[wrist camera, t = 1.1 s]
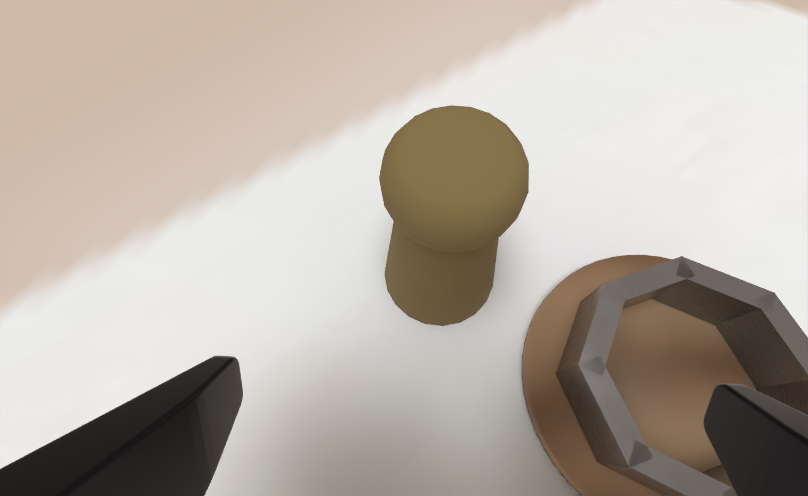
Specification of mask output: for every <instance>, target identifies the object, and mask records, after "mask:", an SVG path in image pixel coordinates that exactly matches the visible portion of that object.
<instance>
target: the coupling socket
mask: <svg viewBox="0 0 808 496" xmlns="http://www.w3.org/2000/svg"><path fill="white" fill-rule="evenodd" d="M522 380H523V389H524V396H525V400H526V404H527V408H528V412H529V415H530V418H531V420H532V423H533V426H534V429H535V431H536V433H537V435H538V437H539V439H540V441H541V443H542V445H543V447H544V449H545V451H546V452H547V454H548V455H549V457H550V458H551V460H552V461H553V463H554V465H555V466H556V467H557V469H558V470H559V471H560V472H561V473H562V475H563V476H564V477H565V478H566V480H567V481H568V482H569V483H570V484H571V485H572V486H573V487H574V488H575V489H576V490H577V491H578V492H579V493H580V494H581V495H582V496H737V495H736V493H735V491H734V489H733V487H732V485H731V483H730V481H729V479H728V477H727V475H726V473H725V471H724V469H723V467H722V465H721V463H720V461H719V459H718V457H717V455H716V453H715V451H714V449H713V447H712V445H711V443H710V441H709V438H708V436H707V434H706V432H705V429H704V424H703V420H704V415H705V412H706V409H707V407H708V404H709V401H710V398H711V395H712V392H713V390H714V388H715V387H716V386H717V385H718V384H721V383H727V384H742V385H746V386H748V387H750V388H752V389H754V390H756V391H758V392H760V393H763V394H765V395H767V396H769V397H771V398H773V399H775V400H777V401H779V402H781V403H783V404H785V405H787V406H789V407H791V408H793V409H795V410H797V411H800V412H802V413H804V414H806V415H808V338H807V336H806V335H805V333H804V332H803V331H802V329H801V328H800V327H799V325H798V324H797V323H796V321H795V320H794V319H793V317H792V316H791V315H790V313H789V312H788V310H787V309H786V308H785V306H784V305H783V304H782V302H781V301H780V300H779V298H778V297H777V296H776V294H775V293H774V292H771V291H769V290H766V289H763V288H761V287H758V286H756V285H753V284H751V283H748V282H746V281H743V280H740V279H738V278H735V277H733V276H730V275H728V274H725V273H723V272H720V271H717V270H715V269H712V268H710V267H707V266H705V265H702V264H700V263H697V262H694V261H692V260H689V259H687V258H684V257H683V256H681V257H679V258H676V259H673V260H672V259H667V258H663V257H656V256H648V255H625V256H617V257H611V258H607V259H603V260H599V261H596V262H594V263H591V264H589V265H587V266H584V267H582V268H581V269H579V270H577V271H576V272H574V273H572V274H571V275H569V276H568V277H567V278H566V279H564V280H563V281H562V282H561V283H560V284H559V285H558V286H557V287H556V288H555V289H554V290H553V291H552V292H551V293H550V294H549V295H548V296H547V298H546V299H545V300H544V301H543V302H542V304H541V306H540V307H539V309H538V310H537V312H536V313H535V315H534V317H533V320H532V322H531V324H530V326H529V329H528V332H527V336H526V339H525V343H524V350H523V356H522Z"/></svg>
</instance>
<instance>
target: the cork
mask: <svg viewBox="0 0 808 496" xmlns="http://www.w3.org/2000/svg"><path fill="white" fill-rule="evenodd" d="M528 178H529V163H528V160H527V157H526V155H525V152H524V150H523V147H522V144H521V143H520V141H519V140H518V138H517V137H516V136H515V135H514V133H513V132H512V131H511V130H510V129H509V127H508V126H507V125H506V124H505V123H503V122H502V121H500V120H499V119H497V118H496V117H494V116H493V115H491V114H490V113H487V112H484V111H481V110H478V109H475V108H472V107H463V106H446V107H439V108H433V109H430V110H428V111H426V112H424V113H421V114H419V115H417V116H415V117H414V118H412V119H411V120H410V121H409V122H408V123H407V124H405V125H404V126H403V127H402V128H401V129H400V130H399V131H397V132H396V133H395V135H394V136H393V138H392V140H391V141H390V143H389V145H388V146H387V148H386V150H385V153H384V156H383V160H382V166H381V171H380V177H379V179H380V185H381V191H382V196H383V201H384V206H385V208H386V209H387V211H388V213H389V214H390V216H391V217H392V219H393V221H394V224H393V229H392V235H391V240H390V246H389V251H388V257H387V263H386V269H385V278H386V284H387V289H388V292H389V293H390V295H391V297H392V299H393V301H394V302H395V304H396V305H397V306H398V307H399V308H400V309H401V310H402V311H403V312H404V313H406V314H407V315H408V316H409V317H411V318H414V319H416V320H418V321H420V322H422V323H425V324H432V325H441V326H444V325H449V324H454V323H459V322H461V321H463V320H465V319H467V318H469V317H470V316H472V315H474V314H475V313H476V312H477V311H478V310H479V309H480V308H481V307H482V306H483V304H484V303H485V302H486V301H487V298H488V296H489V293H490V291H491V288H492V286H493V278H494V270H495V262H496V253H497V245H498V237H500V236H501V235H502V234H503V233H504V232H505V231H506V230H507V229H508V228H509V227H510V226H511V224H512V223H513V222H514V221H515V220H516V219H517V217H518V215H519V213H520V211H521V209H522V206H523V204H524V201H525V199H526V197H527V194H528Z"/></svg>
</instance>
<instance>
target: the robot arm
mask: <svg viewBox="0 0 808 496" xmlns="http://www.w3.org/2000/svg"><path fill="white" fill-rule="evenodd" d="M242 398H243V389H242V381H241V374H240V367H239V362H238V360H237V359H236V358H235V357H231V356H214V357H212V358H210V359H208V360H206V361H204V362H202V363H200V364H198V365H196V366H195V367H193V368H191V369H189V370H187V371H185V372H183V373H181V374H179V375H177V376H176V377H174V378H172V379H170V380H168V381H166V382H164V383H162V384H160V385H158V386H157V387H155V388H153V389H151V390H149V391H147V392H145V393H143V394H141V395H140V396H138V397H136V398H134V399H132V400H130V401H128V402H126V403H124V404H122V405H121V406H119V407H117V408H115V409H113V410H111V411H109V412H107V413H105V414H104V415H102V416H100V417H98V418H96V419H94V420H92V421H90V422H88V423H86V424H85V425H83V426H81V427H79V428H77V429H75V430H73V431H71V432H69V433H68V434H66V435H64V436H62V437H60V438H58V439H56V440H54V441H52V442H50V443H49V444H47V445H45V446H43V447H41V448H39V449H37V450H35V451H33V452H32V453H30V454H28V455H26V456H24V457H22V458H20V459H18V460H16V461H14V462H13V463H11V464H9V465H7V466H5V467H3V468H1V469H0V496H204V495H205V493H206V491H207V489H208V487H209V485H210V483H211V480H212V478H213V476H214V473H215V471H216V468H217V466H218V463H219V461H220V458H221V455H222V453H223V450H224V447H225V445H226V442H227V440H228V437H229V434H230V432H231V429H232V427H233V424H234V421H235V419H236V416H237V414H238V411H239V408H240V406H241V403H242ZM703 424H704V429H705V432H706V434H707V436H708V438H709V441H710V443H711V445H712V447H713V449H714V451H715V453H716V455H717V457H718V459H719V461H720V463H721V465H722V467H723V469H724V471H725V473H726V475H727V477H728V479H729V481H730V483H731V485H732V487H733V489H734V491H735V493H736V495H737V496H808V415H806V414H804V413H802V412H800V411H797V410H795V409H793V408H791V407H789V406H787V405H785V404H783V403H781V402H779V401H777V400H775V399H773V398H771V397H769V396H767V395H765V394H763V393H760V392H758V391H756V390H754V389H752V388H750V387H748V386H746V385H742V384H727V383H721V384H718V385H717V386H716V387H715V388H714V390H713V392H712V395H711V398H710V401H709V404H708V407H707V409H706V412H705V415H704V420H703Z"/></svg>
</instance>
